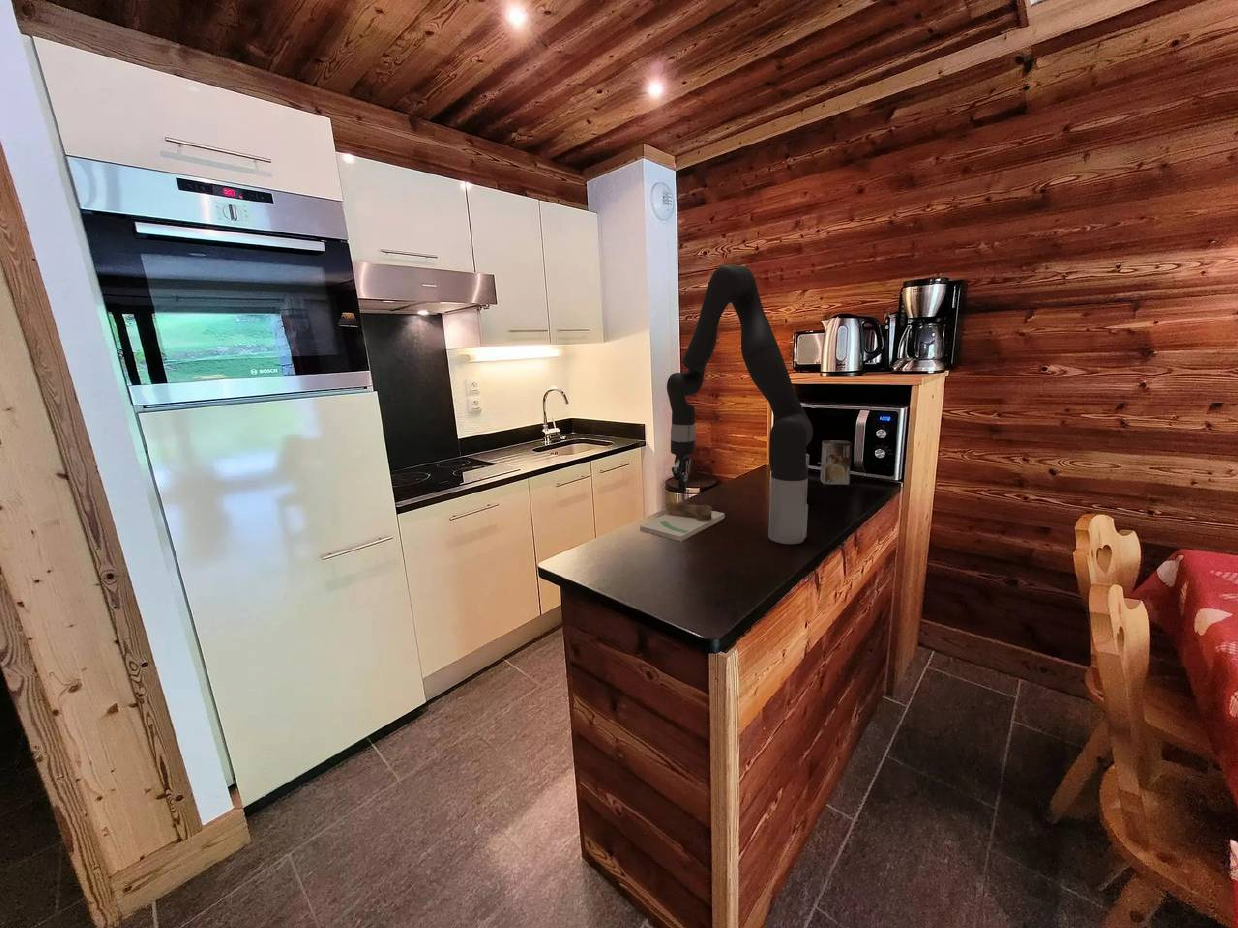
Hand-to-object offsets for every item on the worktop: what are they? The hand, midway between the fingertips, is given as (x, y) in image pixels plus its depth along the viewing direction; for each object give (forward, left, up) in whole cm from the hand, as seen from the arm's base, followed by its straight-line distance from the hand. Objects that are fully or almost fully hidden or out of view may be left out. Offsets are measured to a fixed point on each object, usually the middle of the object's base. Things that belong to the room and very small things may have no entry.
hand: (682, 492), depth 152 cm
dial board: (+6, +8, -7) cm, 13 cm away
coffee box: (-70, +6, -7) cm, 70 cm away
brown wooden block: (+4, +8, -5) cm, 10 cm away
